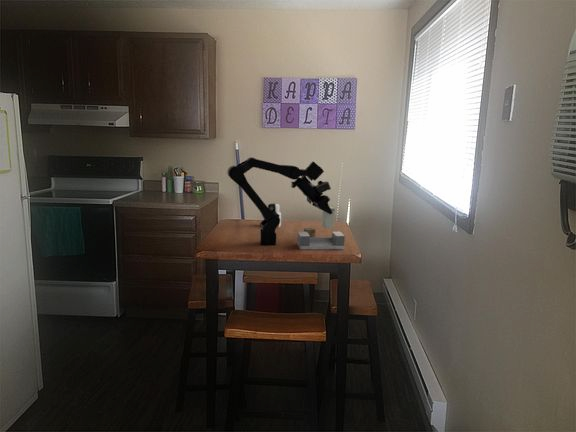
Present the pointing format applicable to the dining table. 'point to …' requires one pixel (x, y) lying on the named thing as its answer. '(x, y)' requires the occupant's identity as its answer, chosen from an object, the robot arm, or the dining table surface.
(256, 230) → the dining table surface
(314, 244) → the grey base plate
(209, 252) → the dining table surface
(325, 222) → the block
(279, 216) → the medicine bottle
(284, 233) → the dining table surface
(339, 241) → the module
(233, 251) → the dining table surface
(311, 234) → the walnut block
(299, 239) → the block
